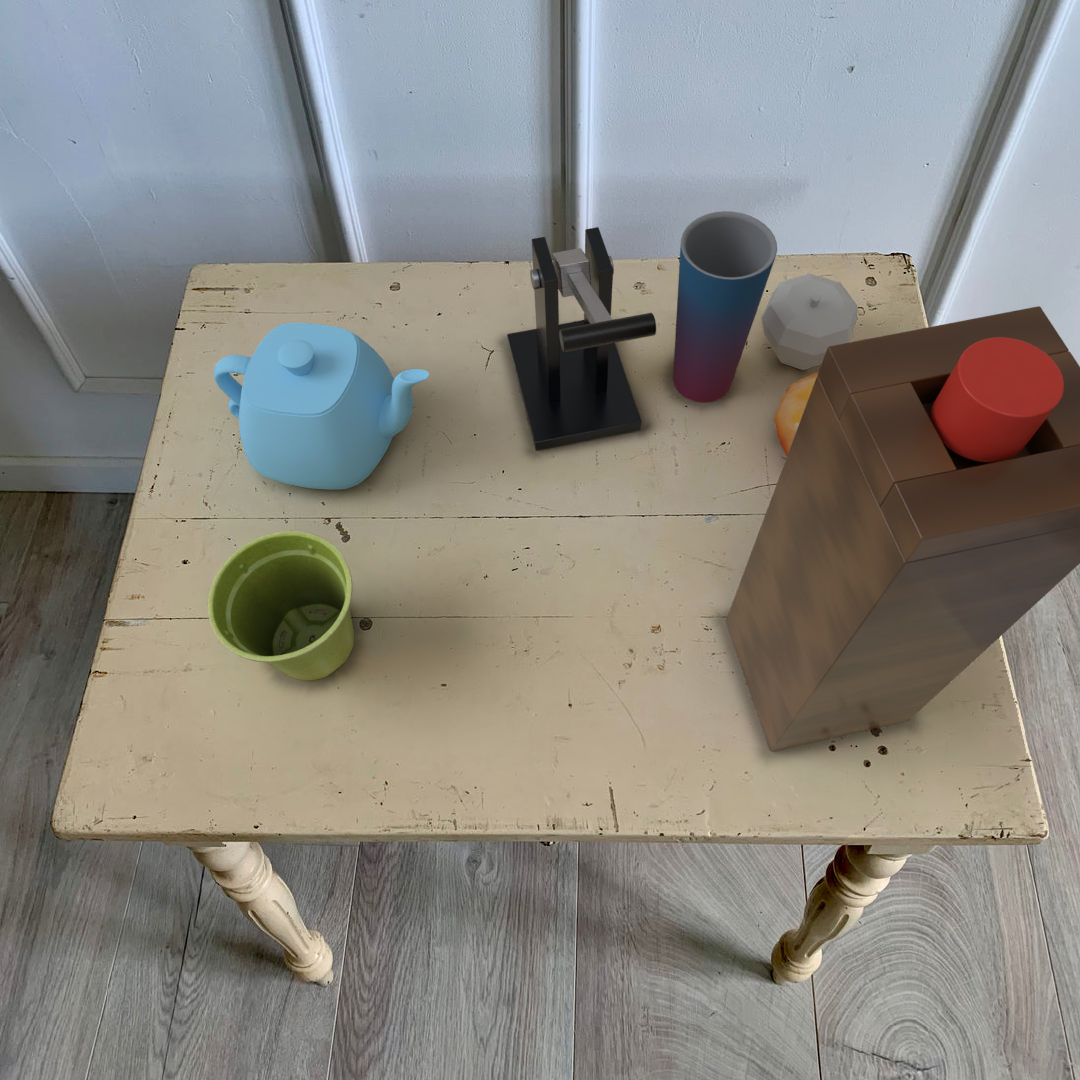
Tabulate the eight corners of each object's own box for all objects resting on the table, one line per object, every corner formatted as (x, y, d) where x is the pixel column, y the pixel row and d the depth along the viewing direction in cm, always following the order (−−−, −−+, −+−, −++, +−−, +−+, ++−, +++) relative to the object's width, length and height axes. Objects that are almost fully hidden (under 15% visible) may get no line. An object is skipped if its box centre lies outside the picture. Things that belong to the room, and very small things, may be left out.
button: (1045, 453, 37) (1084, 405, 34) (954, 471, 36) (986, 425, 34) (1001, 379, 39) (1034, 328, 36) (914, 396, 38) (941, 346, 36)
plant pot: (369, 705, 63) (342, 660, 55) (239, 704, 63) (194, 660, 56) (383, 586, 67) (359, 530, 60) (261, 586, 68) (222, 530, 60)
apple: (749, 316, 79) (762, 261, 74) (838, 317, 79) (859, 261, 73) (756, 387, 75) (771, 334, 70) (850, 388, 75) (872, 335, 69)
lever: (657, 345, 57) (655, 310, 55) (565, 363, 56) (561, 327, 55) (608, 274, 67) (606, 243, 65) (530, 288, 66) (526, 257, 65)
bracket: (641, 430, 74) (655, 303, 61) (535, 451, 73) (527, 327, 60) (605, 324, 79) (612, 187, 66) (507, 342, 79) (494, 208, 66)
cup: (758, 386, 76) (797, 251, 62) (696, 424, 74) (722, 293, 61) (707, 336, 78) (734, 197, 65) (646, 372, 77) (661, 236, 64)
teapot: (406, 438, 61) (162, 406, 63) (428, 517, 70) (215, 487, 72) (448, 303, 67) (223, 278, 69) (463, 392, 76) (265, 368, 78)
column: (909, 720, 61) (1161, 489, 35) (770, 752, 60) (921, 539, 34) (854, 593, 66) (1040, 305, 40) (725, 620, 65) (827, 345, 39)
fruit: (911, 467, 69) (887, 422, 63) (814, 507, 73) (782, 469, 66) (875, 387, 73) (849, 338, 67) (785, 429, 76) (752, 385, 70)
